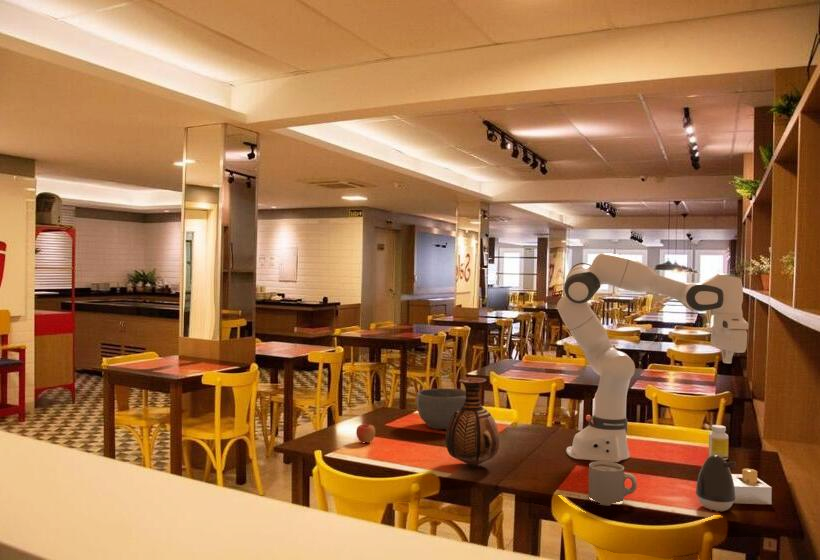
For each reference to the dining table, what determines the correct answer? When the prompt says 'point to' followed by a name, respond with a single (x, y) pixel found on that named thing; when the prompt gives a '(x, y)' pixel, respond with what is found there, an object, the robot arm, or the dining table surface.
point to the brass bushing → (749, 476)
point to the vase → (472, 428)
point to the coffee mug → (609, 482)
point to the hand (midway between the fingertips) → (727, 363)
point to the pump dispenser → (716, 484)
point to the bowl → (439, 405)
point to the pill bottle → (718, 442)
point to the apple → (365, 433)
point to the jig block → (751, 491)
